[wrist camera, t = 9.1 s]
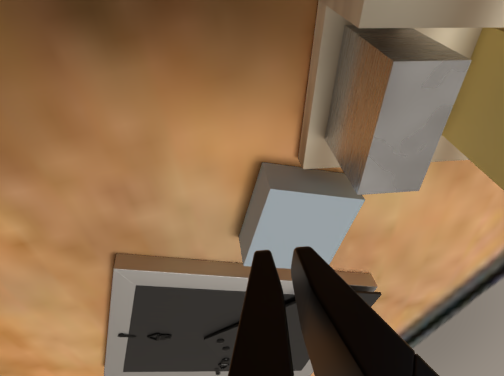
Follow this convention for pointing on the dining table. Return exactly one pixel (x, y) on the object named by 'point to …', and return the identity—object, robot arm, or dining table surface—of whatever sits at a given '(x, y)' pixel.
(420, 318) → the dining table surface
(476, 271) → the dining table surface
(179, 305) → the picture frame
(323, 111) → the shelf tray
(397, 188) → the bookend
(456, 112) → the olive yellow block
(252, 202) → the blue book lying
